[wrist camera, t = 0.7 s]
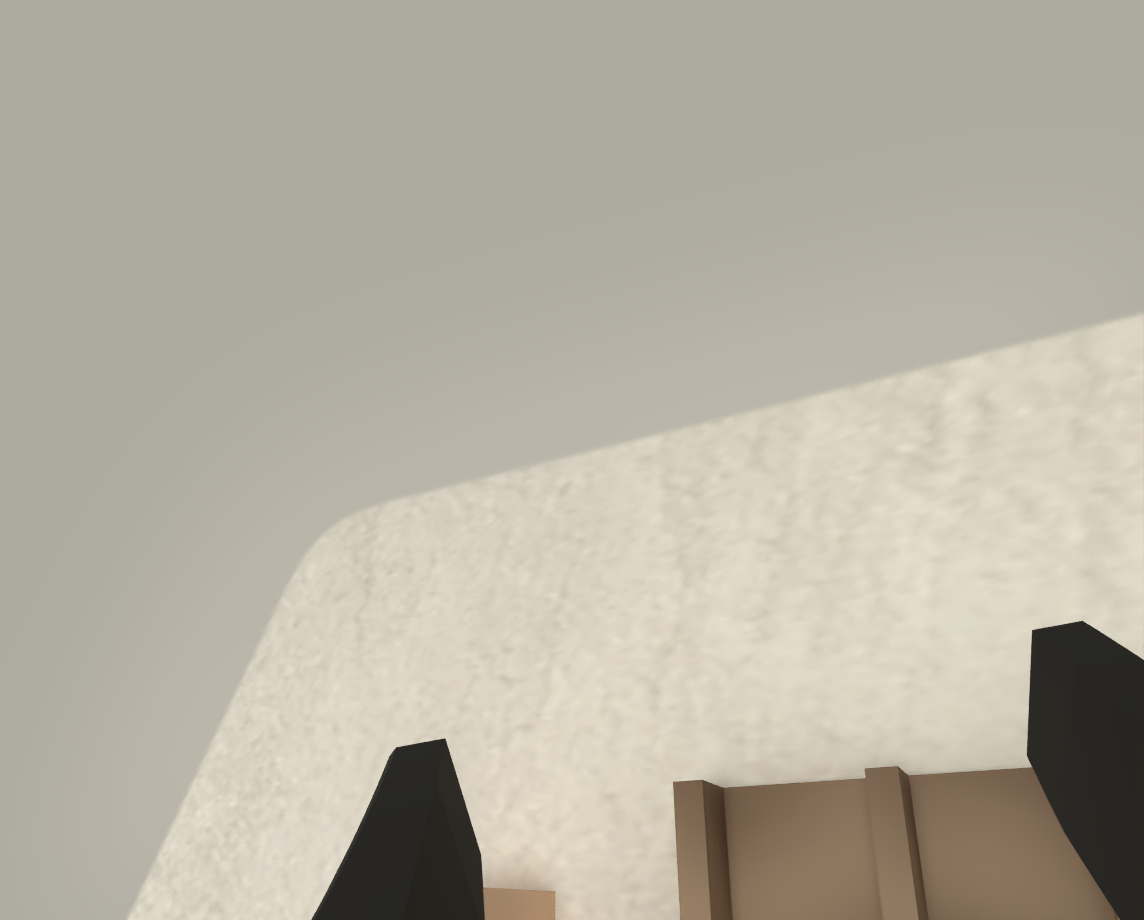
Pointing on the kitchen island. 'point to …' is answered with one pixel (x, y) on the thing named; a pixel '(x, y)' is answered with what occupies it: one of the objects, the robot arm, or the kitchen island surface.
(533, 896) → the peach rectangular block
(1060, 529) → the kitchen island surface
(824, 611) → the kitchen island surface
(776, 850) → the rack
